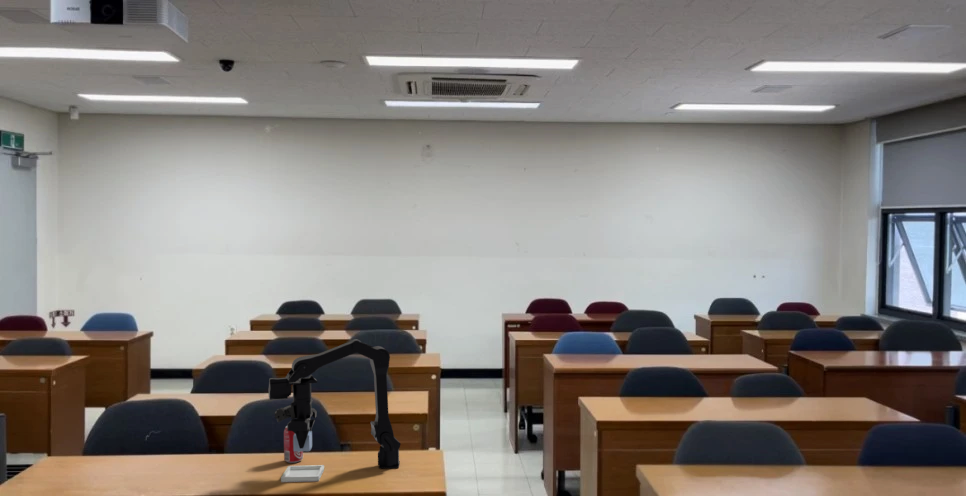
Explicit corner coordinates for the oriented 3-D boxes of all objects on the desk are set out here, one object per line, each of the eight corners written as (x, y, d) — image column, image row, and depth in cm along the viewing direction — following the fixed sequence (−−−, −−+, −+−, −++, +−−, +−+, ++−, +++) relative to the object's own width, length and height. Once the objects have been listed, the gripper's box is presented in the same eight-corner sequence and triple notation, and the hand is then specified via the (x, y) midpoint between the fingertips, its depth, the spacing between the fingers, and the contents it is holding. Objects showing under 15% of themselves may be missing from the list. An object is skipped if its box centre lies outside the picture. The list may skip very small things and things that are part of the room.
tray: (324, 469, 249) (324, 465, 249) (318, 481, 238) (318, 476, 238) (288, 470, 249) (288, 465, 249) (281, 482, 237) (281, 477, 237)
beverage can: (305, 458, 262) (305, 424, 261) (299, 464, 256) (299, 428, 255) (288, 458, 262) (287, 423, 262) (281, 463, 256) (281, 428, 256)
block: (312, 446, 246) (311, 431, 246) (309, 451, 241) (309, 435, 241) (296, 447, 245) (296, 431, 245) (293, 451, 240) (293, 435, 240)
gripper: (282, 391, 252) (283, 438, 252) (270, 404, 233) (271, 455, 233) (316, 391, 252) (317, 437, 253) (306, 403, 234) (307, 454, 234)
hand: (303, 445), depth 243 cm, fingers closed on block, 5 cm apart
